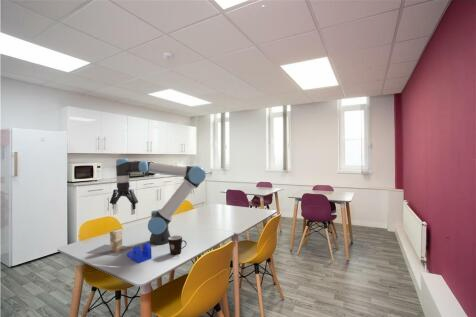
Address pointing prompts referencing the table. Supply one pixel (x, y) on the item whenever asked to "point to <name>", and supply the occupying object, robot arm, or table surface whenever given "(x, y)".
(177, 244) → the coffee mug
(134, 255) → the bracket
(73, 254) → the table surface
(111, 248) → the birch pillar
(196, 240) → the table surface
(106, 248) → the charcoal mat
